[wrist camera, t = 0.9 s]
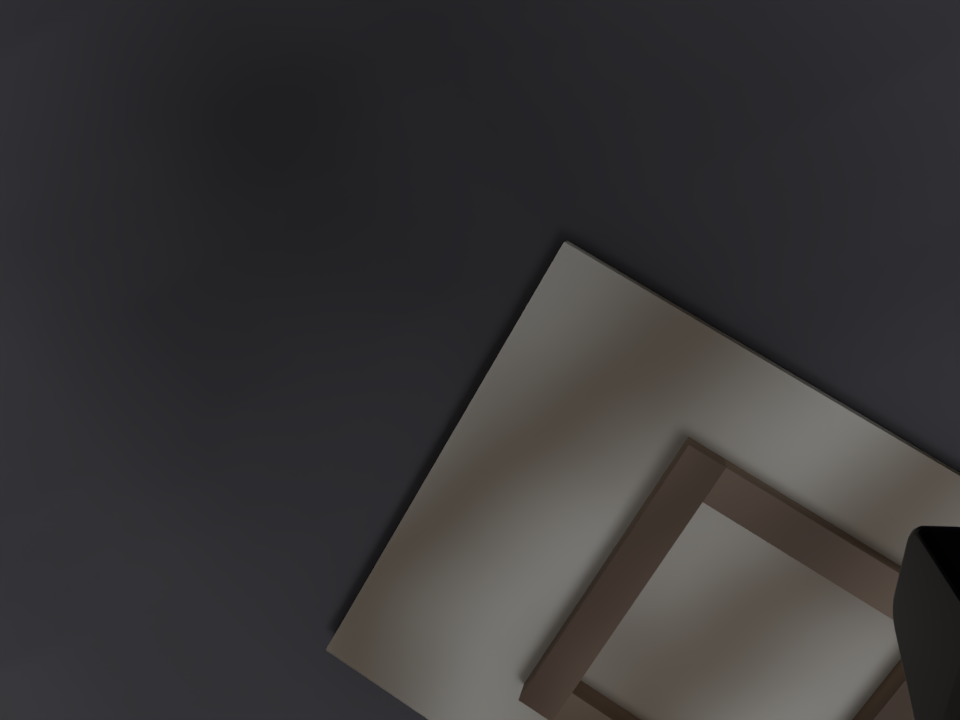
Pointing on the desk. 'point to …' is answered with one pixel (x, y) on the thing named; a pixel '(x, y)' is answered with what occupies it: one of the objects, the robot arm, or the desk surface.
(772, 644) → the beige flat board
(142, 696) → the desk surface
